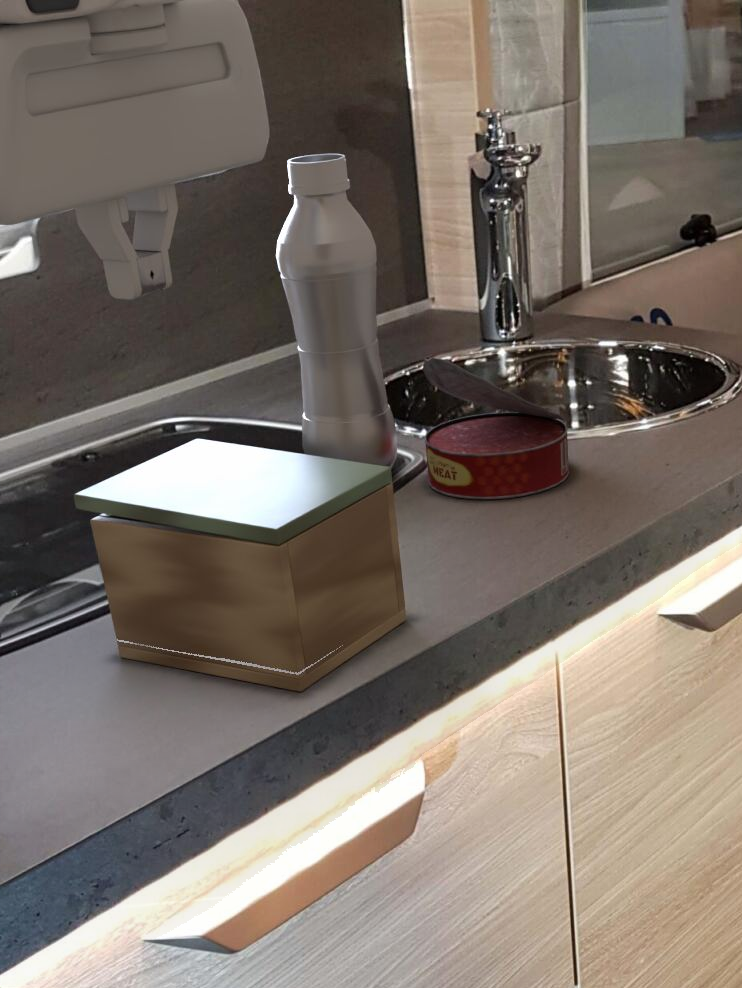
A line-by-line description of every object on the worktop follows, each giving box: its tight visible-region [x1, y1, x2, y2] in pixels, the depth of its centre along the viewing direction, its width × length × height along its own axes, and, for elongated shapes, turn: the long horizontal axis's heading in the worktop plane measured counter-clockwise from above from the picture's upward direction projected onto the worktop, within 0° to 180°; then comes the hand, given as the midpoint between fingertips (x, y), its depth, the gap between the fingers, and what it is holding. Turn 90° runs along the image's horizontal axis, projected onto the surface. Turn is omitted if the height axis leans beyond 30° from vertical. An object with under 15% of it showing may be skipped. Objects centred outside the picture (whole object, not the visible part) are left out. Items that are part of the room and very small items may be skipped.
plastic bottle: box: [275, 153, 399, 469], centre depth 103 cm, size 6×7×20 cm
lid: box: [73, 438, 393, 545], centre depth 82 cm, size 13×10×1 cm
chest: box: [89, 482, 408, 692], centre depth 84 cm, size 12×10×8 cm
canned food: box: [422, 357, 570, 500], centre depth 106 cm, size 11×10×10 cm
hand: (142, 293), depth 78 cm, fingers closed
